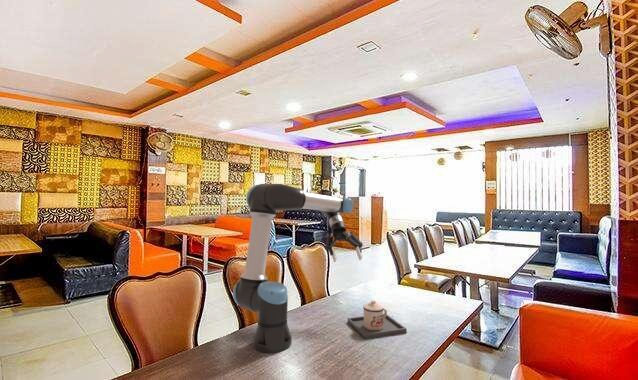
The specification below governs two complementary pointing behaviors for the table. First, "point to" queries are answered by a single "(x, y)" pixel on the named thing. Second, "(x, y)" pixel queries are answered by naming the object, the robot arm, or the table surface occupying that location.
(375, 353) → the table surface
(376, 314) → the teacup with lid
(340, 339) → the table surface
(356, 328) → the tea tray
